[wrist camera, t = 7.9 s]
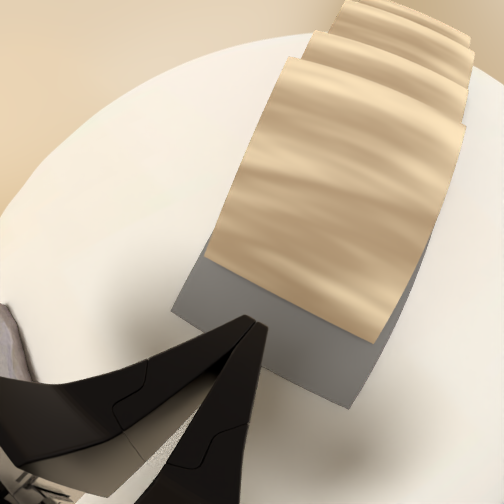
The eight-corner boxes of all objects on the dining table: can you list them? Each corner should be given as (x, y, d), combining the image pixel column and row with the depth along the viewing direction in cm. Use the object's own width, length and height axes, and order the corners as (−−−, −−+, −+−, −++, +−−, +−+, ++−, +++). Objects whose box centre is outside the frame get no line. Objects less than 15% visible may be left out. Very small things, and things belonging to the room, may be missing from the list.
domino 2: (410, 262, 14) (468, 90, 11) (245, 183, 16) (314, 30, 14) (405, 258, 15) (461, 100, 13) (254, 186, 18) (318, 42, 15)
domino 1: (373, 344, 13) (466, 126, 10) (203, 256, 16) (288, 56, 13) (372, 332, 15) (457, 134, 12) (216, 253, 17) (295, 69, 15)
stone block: (19, 297, 23) (-20, 344, 21) (-11, 286, 19) (-48, 339, 17) (68, 397, 20) (21, 435, 19) (36, 402, 16) (-7, 441, 14)
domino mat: (347, 407, 14) (348, 409, 14) (173, 311, 18) (170, 311, 17) (457, 116, 17) (458, 114, 16) (319, 60, 20) (319, 56, 19)
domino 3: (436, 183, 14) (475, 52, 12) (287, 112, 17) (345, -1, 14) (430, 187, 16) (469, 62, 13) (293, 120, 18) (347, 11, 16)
